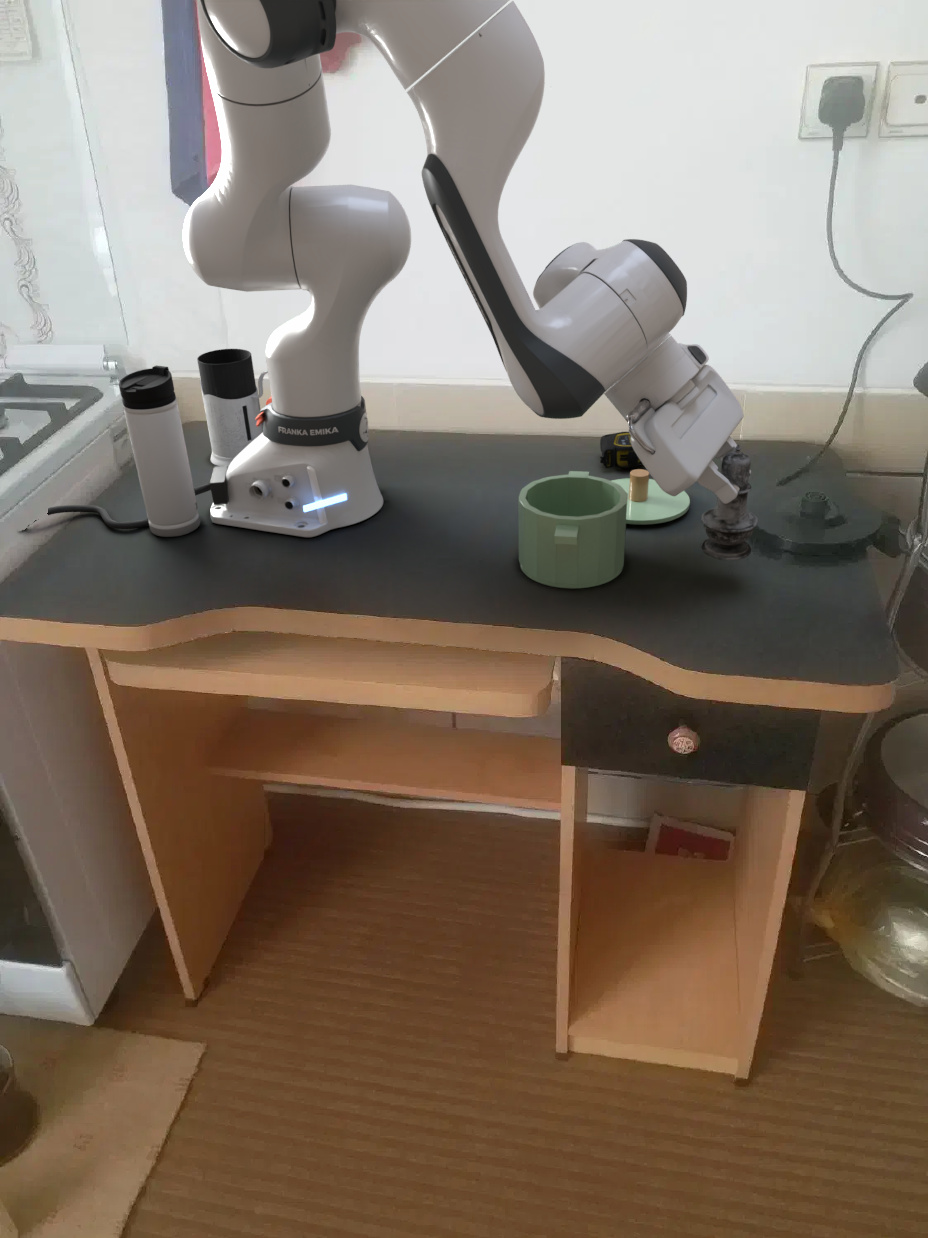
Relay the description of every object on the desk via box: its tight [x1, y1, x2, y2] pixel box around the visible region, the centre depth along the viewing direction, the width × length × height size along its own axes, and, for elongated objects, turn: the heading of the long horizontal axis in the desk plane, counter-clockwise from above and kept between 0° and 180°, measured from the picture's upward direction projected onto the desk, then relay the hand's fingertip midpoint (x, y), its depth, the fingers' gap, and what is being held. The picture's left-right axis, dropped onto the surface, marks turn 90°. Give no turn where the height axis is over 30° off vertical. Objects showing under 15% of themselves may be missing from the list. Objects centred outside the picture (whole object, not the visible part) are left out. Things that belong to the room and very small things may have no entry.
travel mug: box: [118, 365, 201, 538], centre depth 121 cm, size 6×7×20 cm
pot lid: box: [611, 468, 691, 526], centre depth 126 cm, size 13×13×5 cm
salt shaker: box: [700, 444, 759, 561], centre depth 104 cm, size 6×6×12 cm
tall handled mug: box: [196, 348, 268, 467], centre depth 142 cm, size 9×14×15 cm, turn 65°
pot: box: [517, 470, 628, 589], centre depth 112 cm, size 12×17×8 cm
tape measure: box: [599, 431, 643, 469], centre depth 138 cm, size 7×7×4 cm
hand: (739, 488), depth 103 cm, fingers closed on salt shaker, 3 cm apart
